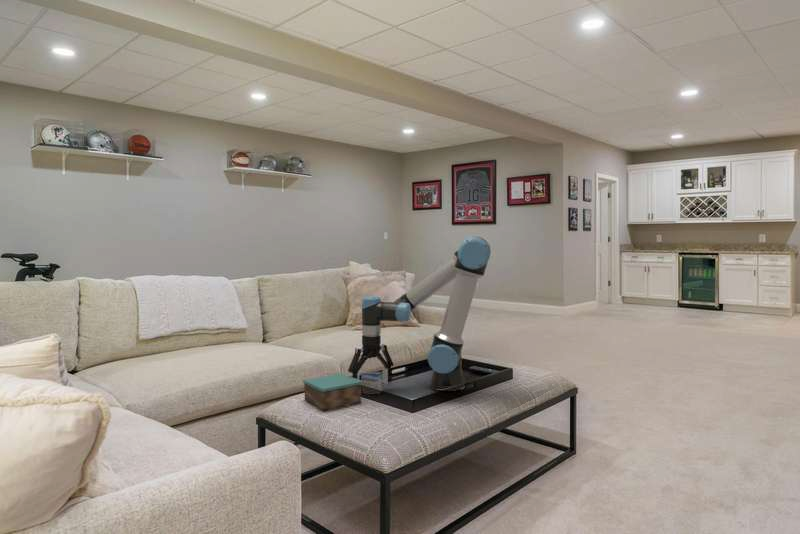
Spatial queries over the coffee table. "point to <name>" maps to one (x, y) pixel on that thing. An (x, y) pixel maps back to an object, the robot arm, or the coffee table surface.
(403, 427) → the coffee table surface
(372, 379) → the medicine box
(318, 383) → the lid
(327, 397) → the crate
